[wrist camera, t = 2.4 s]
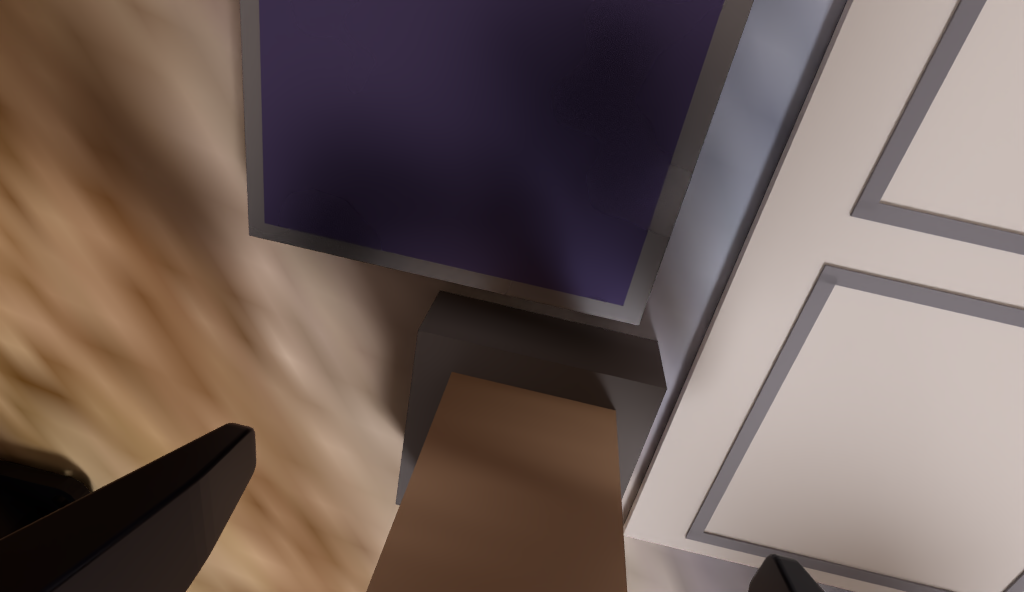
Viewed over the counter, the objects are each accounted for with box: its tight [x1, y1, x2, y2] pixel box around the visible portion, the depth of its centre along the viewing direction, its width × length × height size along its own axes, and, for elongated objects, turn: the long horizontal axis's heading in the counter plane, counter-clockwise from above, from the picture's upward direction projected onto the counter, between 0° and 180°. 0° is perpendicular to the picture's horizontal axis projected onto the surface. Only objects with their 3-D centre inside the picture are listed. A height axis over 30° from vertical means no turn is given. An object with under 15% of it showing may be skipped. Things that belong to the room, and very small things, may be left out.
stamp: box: [366, 291, 667, 592], centre depth 9 cm, size 4×4×6 cm
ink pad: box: [240, 0, 754, 326], centre depth 8 cm, size 7×8×1 cm
